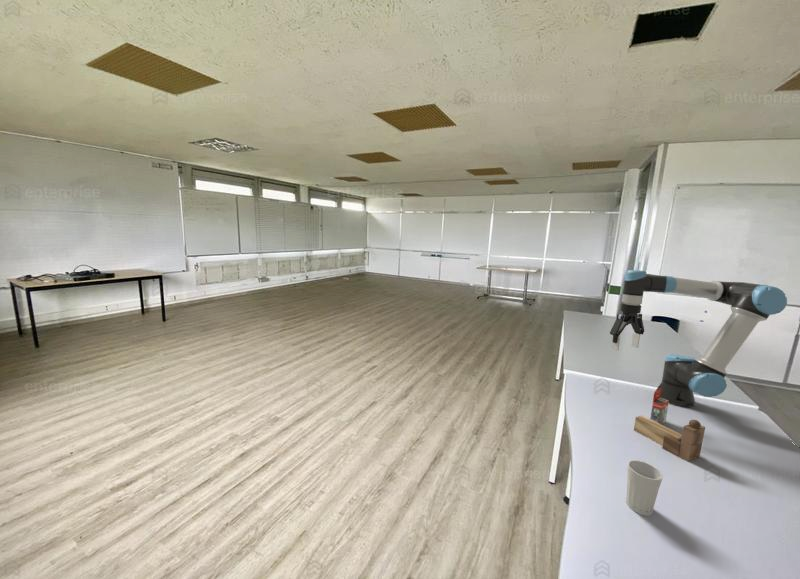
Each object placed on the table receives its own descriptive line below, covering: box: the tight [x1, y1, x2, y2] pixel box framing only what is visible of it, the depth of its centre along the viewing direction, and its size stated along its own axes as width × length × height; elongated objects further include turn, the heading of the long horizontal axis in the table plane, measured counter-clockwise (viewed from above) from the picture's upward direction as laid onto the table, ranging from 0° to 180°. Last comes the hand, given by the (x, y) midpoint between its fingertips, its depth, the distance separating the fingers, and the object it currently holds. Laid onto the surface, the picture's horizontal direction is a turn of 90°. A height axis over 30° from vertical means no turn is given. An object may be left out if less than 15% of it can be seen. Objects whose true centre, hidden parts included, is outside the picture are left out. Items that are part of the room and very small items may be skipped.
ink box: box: [649, 388, 670, 425], centre depth 138 cm, size 4×8×15 cm, turn 124°
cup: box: [625, 459, 664, 517], centre depth 92 cm, size 8×8×12 cm
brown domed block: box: [661, 419, 706, 462], centre depth 117 cm, size 8×8×14 cm
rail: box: [633, 415, 682, 446], centre depth 125 cm, size 4×16×6 cm, turn 21°
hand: (625, 348), depth 148 cm, fingers open, 13 cm apart
